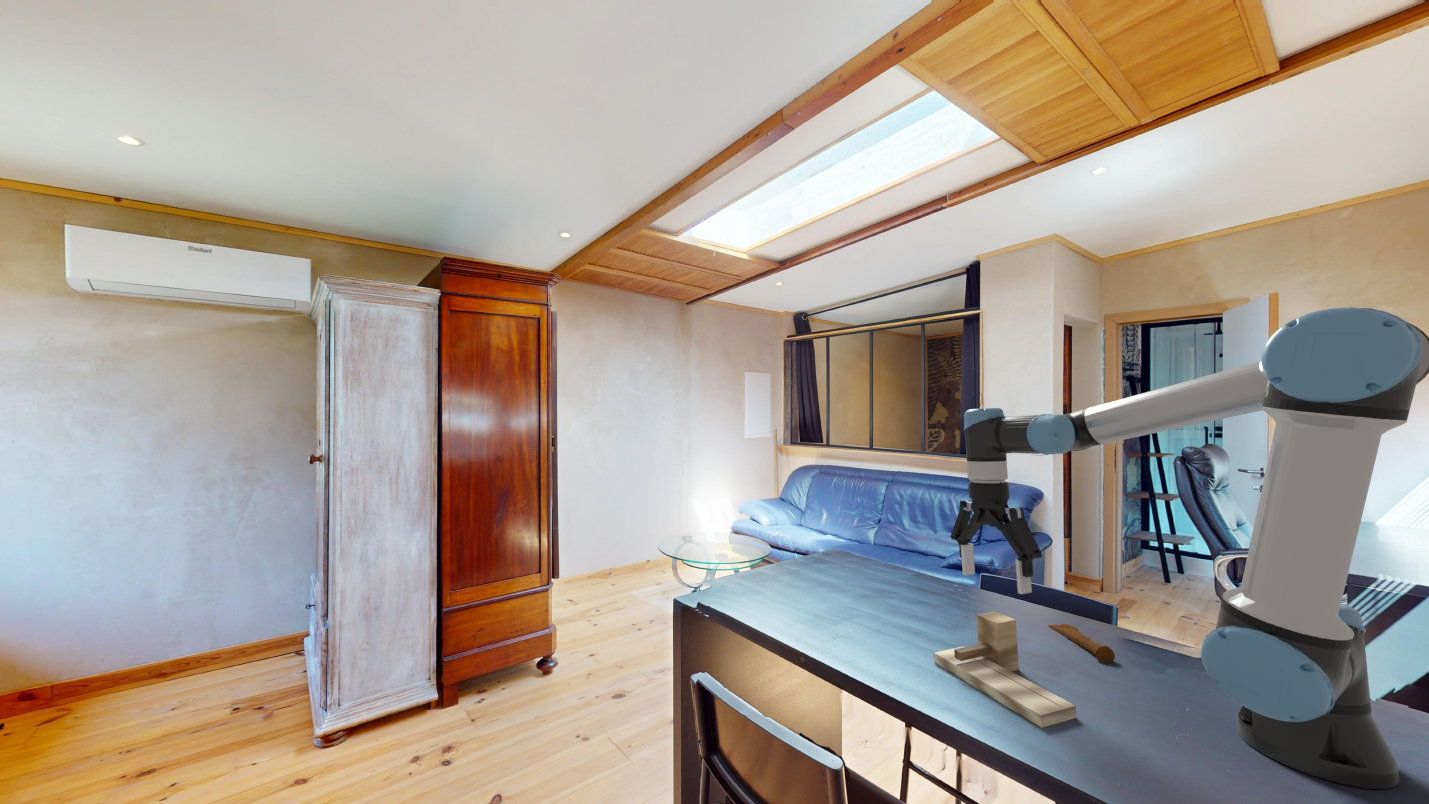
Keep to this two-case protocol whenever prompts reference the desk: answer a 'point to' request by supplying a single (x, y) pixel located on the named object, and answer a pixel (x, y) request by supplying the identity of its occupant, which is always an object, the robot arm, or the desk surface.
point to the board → (1009, 689)
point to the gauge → (994, 641)
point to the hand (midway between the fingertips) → (995, 583)
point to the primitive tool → (1085, 642)
